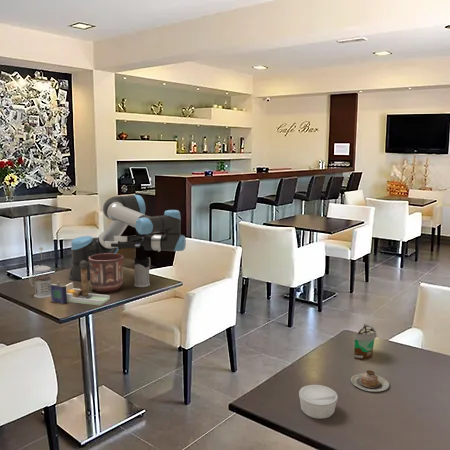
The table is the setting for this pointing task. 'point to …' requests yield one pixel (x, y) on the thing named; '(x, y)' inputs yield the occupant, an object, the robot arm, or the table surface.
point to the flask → (58, 293)
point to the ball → (72, 291)
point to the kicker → (83, 282)
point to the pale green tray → (94, 300)
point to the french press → (45, 280)
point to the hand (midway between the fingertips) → (109, 241)
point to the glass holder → (142, 271)
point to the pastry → (370, 381)
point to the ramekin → (318, 401)
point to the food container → (364, 343)
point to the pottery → (106, 272)
